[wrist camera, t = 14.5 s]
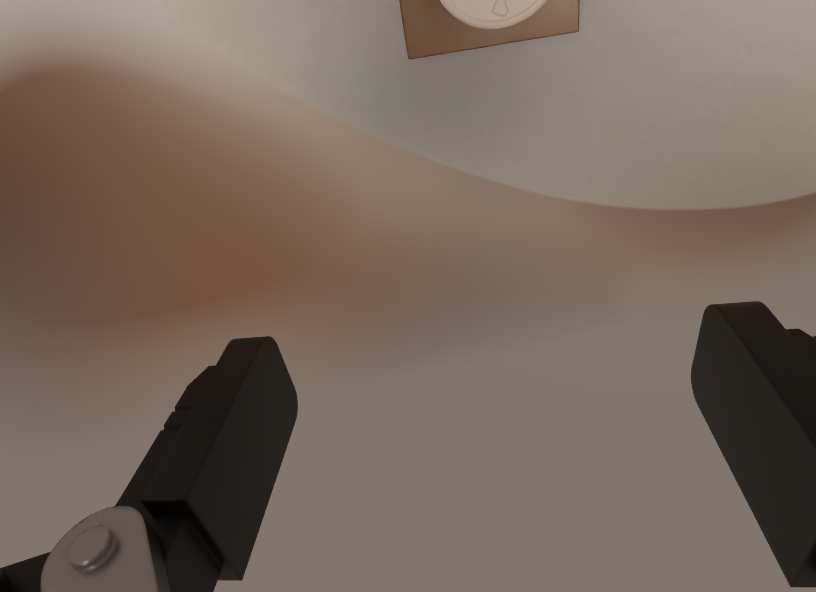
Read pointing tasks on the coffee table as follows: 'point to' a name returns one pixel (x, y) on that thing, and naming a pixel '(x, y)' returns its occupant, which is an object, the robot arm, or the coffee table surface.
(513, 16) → the smoothie
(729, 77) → the coffee table surface
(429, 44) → the coaster
